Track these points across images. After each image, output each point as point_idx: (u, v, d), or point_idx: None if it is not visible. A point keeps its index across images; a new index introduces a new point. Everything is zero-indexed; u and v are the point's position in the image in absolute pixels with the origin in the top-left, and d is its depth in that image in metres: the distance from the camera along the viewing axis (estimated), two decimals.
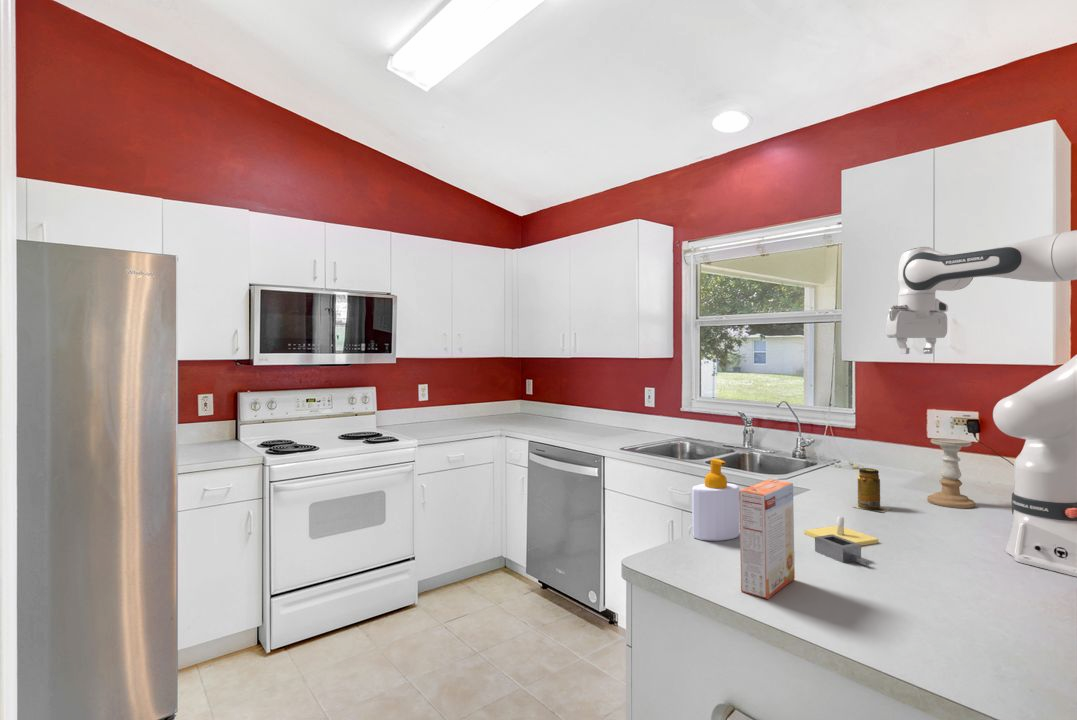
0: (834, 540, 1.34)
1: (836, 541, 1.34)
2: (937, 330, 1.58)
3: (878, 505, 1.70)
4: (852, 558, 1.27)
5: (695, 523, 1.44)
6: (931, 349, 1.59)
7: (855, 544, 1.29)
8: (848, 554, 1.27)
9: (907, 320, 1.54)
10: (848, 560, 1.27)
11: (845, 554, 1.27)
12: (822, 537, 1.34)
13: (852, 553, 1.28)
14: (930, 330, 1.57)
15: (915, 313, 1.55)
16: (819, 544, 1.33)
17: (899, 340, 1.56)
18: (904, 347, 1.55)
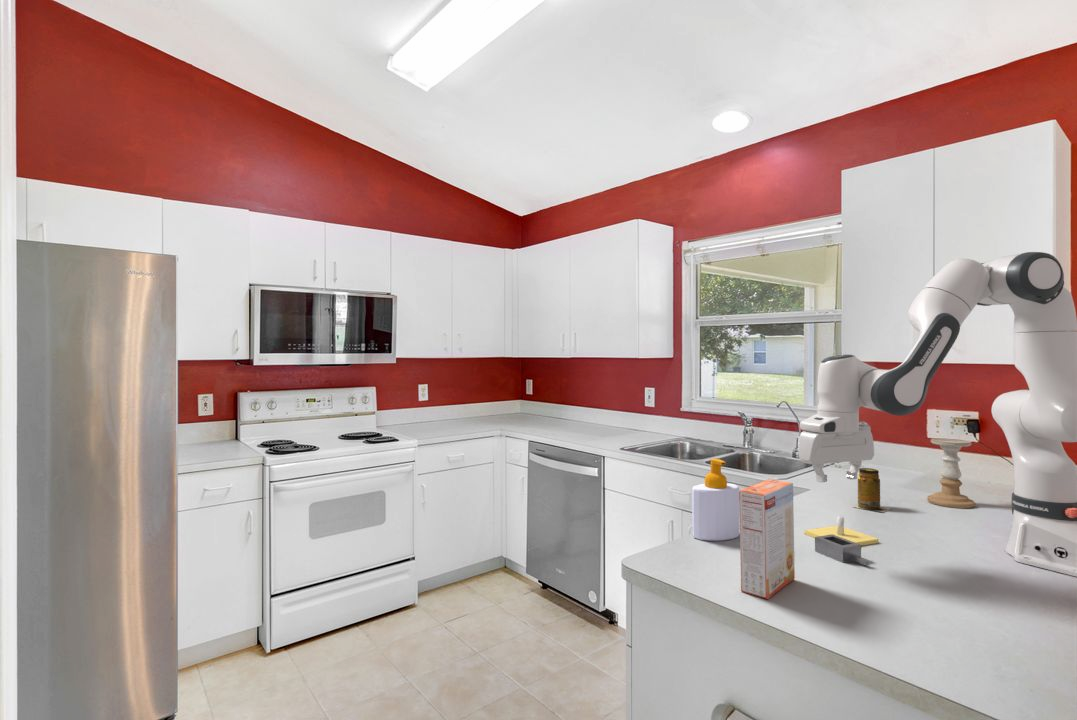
0: (834, 540, 1.34)
1: (836, 541, 1.34)
2: None
3: (878, 505, 1.70)
4: (852, 558, 1.27)
5: (695, 523, 1.44)
6: None
7: (855, 544, 1.29)
8: (848, 554, 1.27)
9: None
10: (848, 560, 1.27)
11: (845, 554, 1.27)
12: (822, 537, 1.34)
13: (852, 553, 1.28)
14: None
15: None
16: (819, 544, 1.33)
17: None
18: None
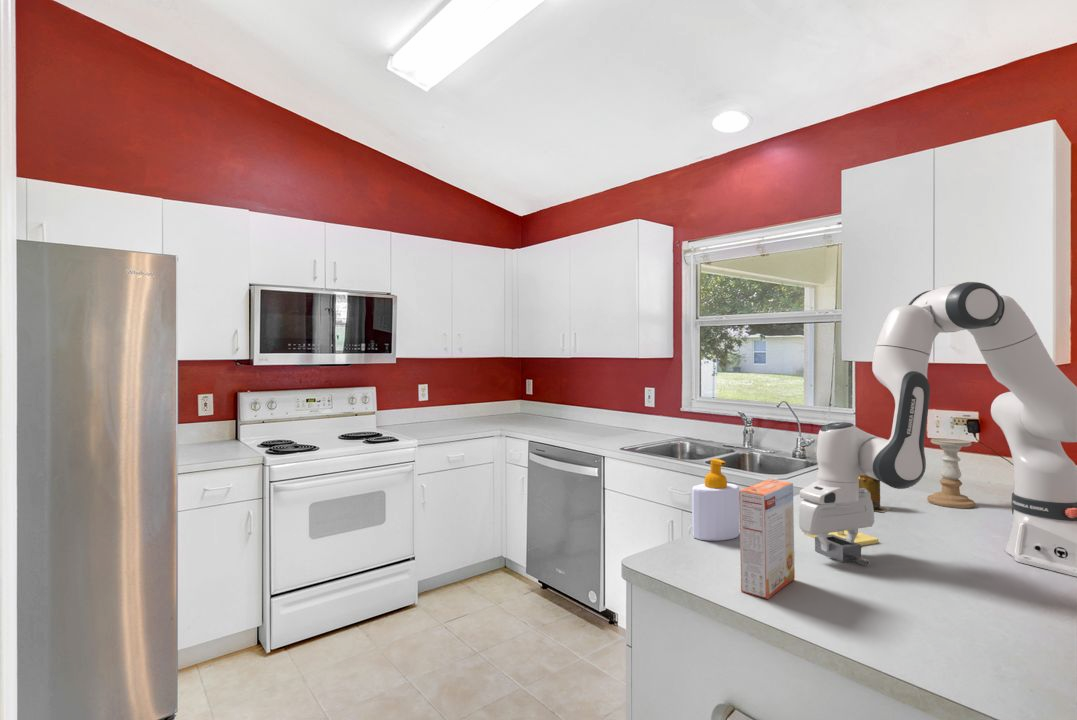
0: (834, 540, 1.34)
1: (836, 541, 1.34)
2: None
3: (878, 505, 1.70)
4: (852, 558, 1.27)
5: (695, 523, 1.44)
6: None
7: (855, 544, 1.29)
8: (848, 554, 1.28)
9: None
10: (848, 560, 1.28)
11: (845, 554, 1.27)
12: None
13: (852, 553, 1.28)
14: None
15: None
16: (819, 544, 1.33)
17: None
18: None
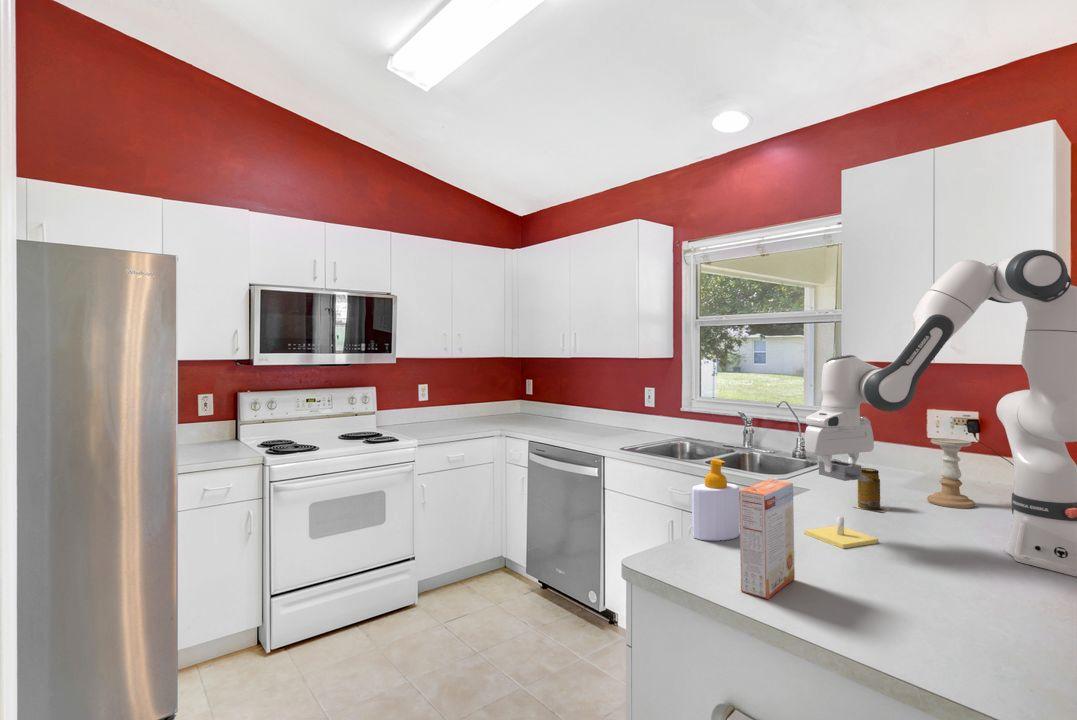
0: None
1: (838, 465, 1.46)
2: None
3: (878, 505, 1.70)
4: (853, 477, 1.39)
5: (695, 523, 1.44)
6: None
7: (856, 465, 1.41)
8: (849, 473, 1.40)
9: None
10: (849, 479, 1.40)
11: (847, 473, 1.39)
12: None
13: (853, 473, 1.40)
14: None
15: None
16: (823, 467, 1.45)
17: None
18: None
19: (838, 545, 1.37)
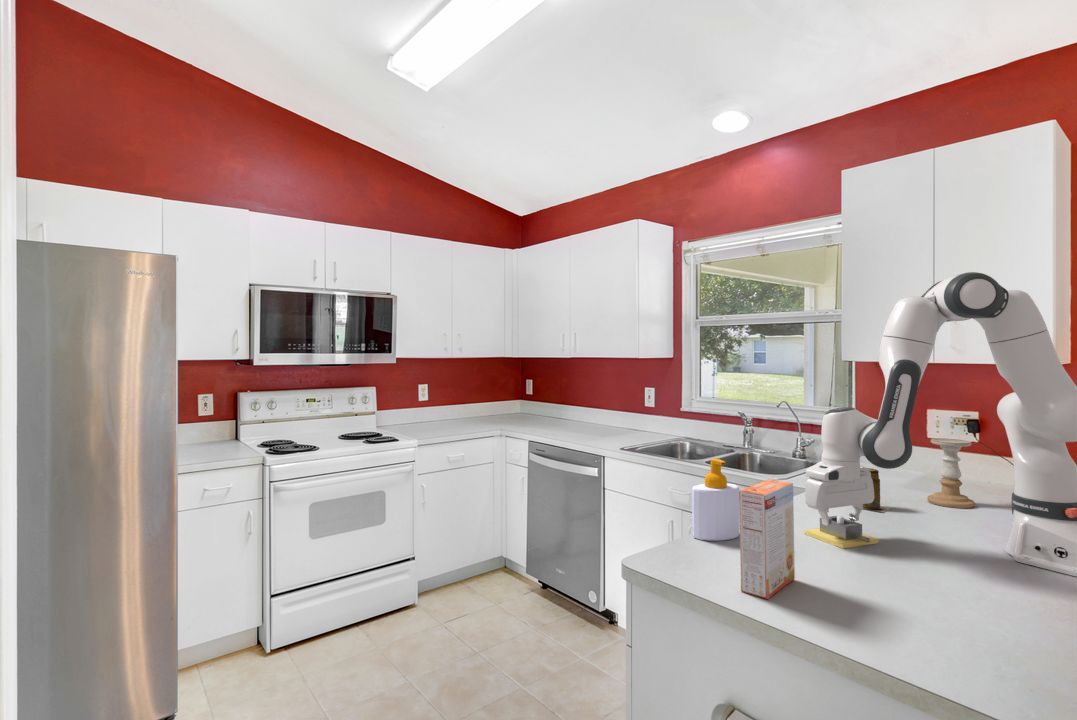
0: None
1: None
2: None
3: (878, 505, 1.70)
4: (854, 536, 1.39)
5: (695, 523, 1.44)
6: None
7: (857, 524, 1.41)
8: (850, 532, 1.40)
9: None
10: (850, 538, 1.40)
11: (847, 532, 1.39)
12: None
13: (854, 532, 1.40)
14: None
15: None
16: None
17: None
18: None
19: (838, 545, 1.37)
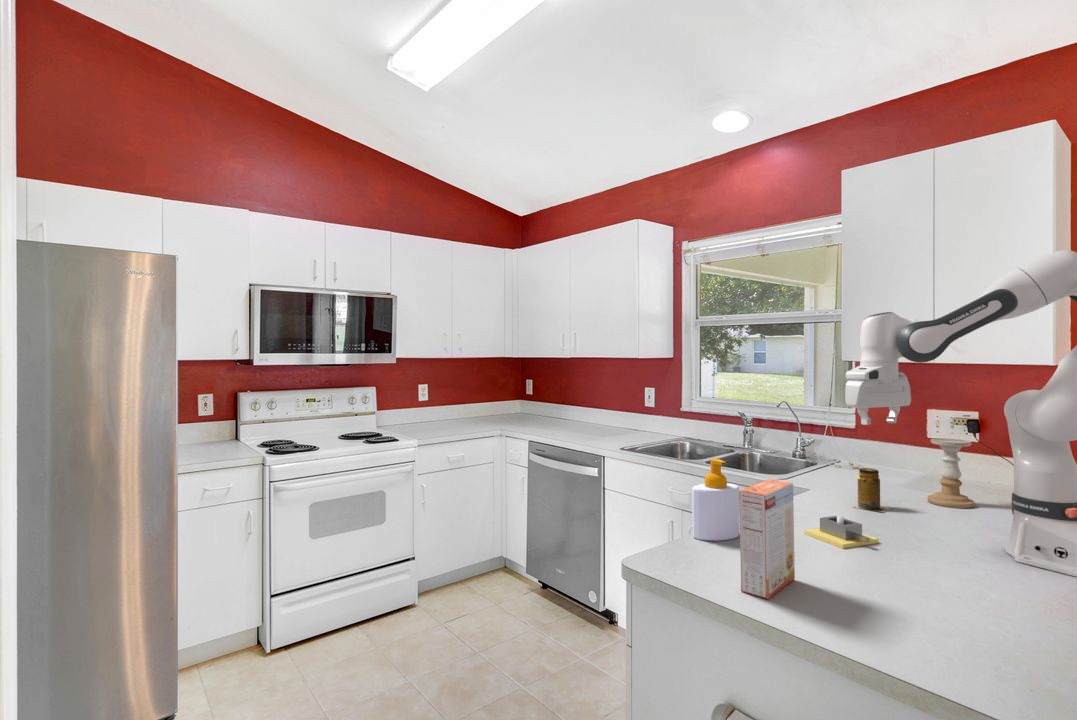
0: None
1: None
2: None
3: (878, 505, 1.70)
4: (854, 536, 1.39)
5: (695, 523, 1.44)
6: None
7: (857, 524, 1.41)
8: (850, 532, 1.40)
9: None
10: (850, 538, 1.40)
11: (847, 532, 1.39)
12: (826, 518, 1.46)
13: (854, 532, 1.40)
14: None
15: None
16: (824, 524, 1.45)
17: None
18: None
19: (838, 545, 1.37)
